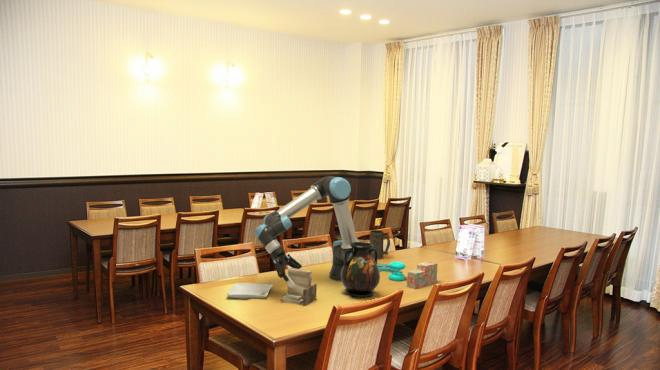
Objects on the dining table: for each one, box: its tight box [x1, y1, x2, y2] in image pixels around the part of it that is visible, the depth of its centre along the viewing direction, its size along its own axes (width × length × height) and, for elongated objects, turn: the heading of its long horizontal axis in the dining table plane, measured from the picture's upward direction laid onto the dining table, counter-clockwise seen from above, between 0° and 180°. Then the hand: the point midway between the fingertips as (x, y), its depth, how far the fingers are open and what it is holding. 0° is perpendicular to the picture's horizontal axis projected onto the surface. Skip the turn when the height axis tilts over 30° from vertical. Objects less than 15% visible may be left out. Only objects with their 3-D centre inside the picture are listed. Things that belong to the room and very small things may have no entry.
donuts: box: [388, 261, 406, 282], centre depth 303 cm, size 10×10×10 cm
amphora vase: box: [340, 241, 381, 299], centre depth 269 cm, size 22×22×28 cm
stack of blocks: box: [406, 261, 438, 290], centre depth 292 cm, size 21×6×12 cm, turn 134°
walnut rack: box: [279, 283, 318, 307], centre depth 254 cm, size 12×15×9 cm
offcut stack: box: [282, 293, 303, 306], centre depth 251 cm, size 4×10×3 cm, turn 64°
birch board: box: [287, 267, 313, 297], centre depth 256 cm, size 4×12×15 cm, turn 64°
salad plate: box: [226, 282, 274, 300], centre depth 264 cm, size 21×21×3 cm
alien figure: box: [377, 263, 403, 274], centre depth 324 cm, size 20×2×20 cm
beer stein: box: [369, 229, 391, 260], centre depth 358 cm, size 15×11×20 cm
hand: (299, 282), depth 255 cm, fingers open, 13 cm apart
